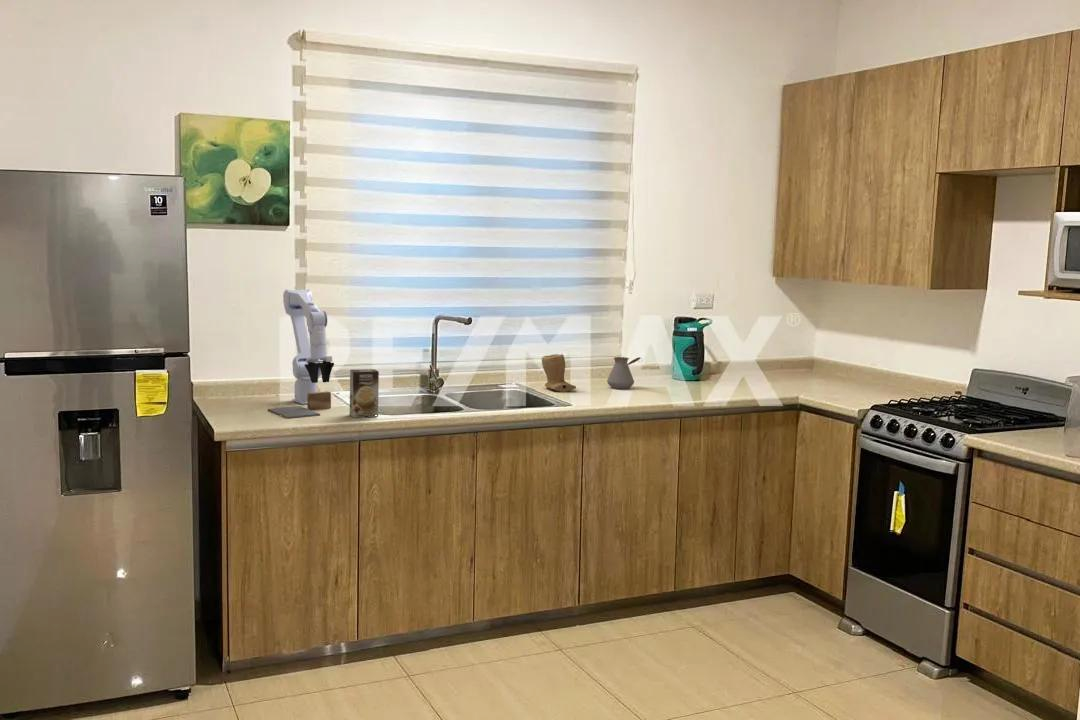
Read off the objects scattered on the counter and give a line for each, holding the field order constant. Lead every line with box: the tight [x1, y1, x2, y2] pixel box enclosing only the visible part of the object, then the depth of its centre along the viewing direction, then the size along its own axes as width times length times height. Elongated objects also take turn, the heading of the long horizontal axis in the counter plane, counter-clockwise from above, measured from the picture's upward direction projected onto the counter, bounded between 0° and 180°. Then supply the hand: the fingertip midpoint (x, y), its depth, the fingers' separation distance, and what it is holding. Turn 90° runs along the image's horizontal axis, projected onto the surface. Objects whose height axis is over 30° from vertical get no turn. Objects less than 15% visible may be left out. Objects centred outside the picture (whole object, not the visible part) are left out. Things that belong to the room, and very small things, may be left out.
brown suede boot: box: [541, 353, 577, 393], centre depth 416 cm, size 15×12×15 cm
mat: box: [267, 405, 321, 419], centre depth 354 cm, size 18×12×1 cm, turn 36°
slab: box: [306, 391, 332, 411], centre depth 363 cm, size 3×8×6 cm, turn 126°
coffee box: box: [349, 368, 380, 418], centre depth 351 cm, size 9×6×16 cm
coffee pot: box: [606, 356, 643, 390], centre depth 420 cm, size 21×12×15 cm, turn 25°
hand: (320, 382), depth 361 cm, fingers open, 7 cm apart
